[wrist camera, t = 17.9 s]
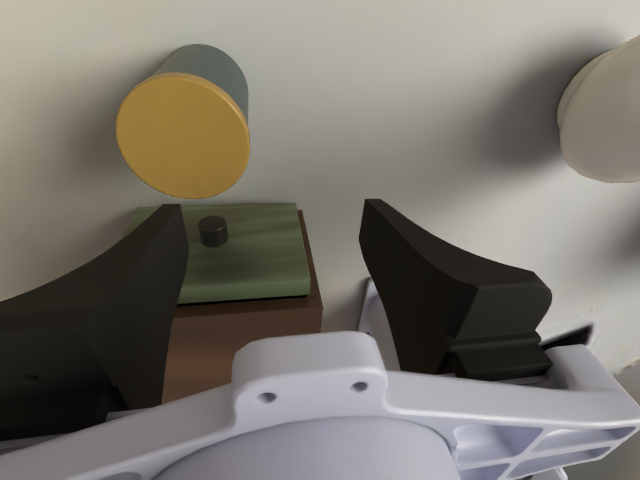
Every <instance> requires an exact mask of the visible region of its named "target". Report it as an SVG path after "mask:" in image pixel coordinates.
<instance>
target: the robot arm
mask: <svg viewBox="0 0 640 480" xmlns="http://www.w3.org/2000/svg"><path fill="white" fill-rule="evenodd" d="M359 243H360V247H361V251H362V255H363V258H364V261H365V263H366V266H367V268H368V271H369V273H370V275H371V278H372V279H370V280H369V281H368V283H367V288H366V293H365V298H364V303H363V308H362V313H361V318H360V322H359V327H358V332H357V331H336V332H325V333H313V334H302V335H291V336H280V337H268V338H264V339H260V340H256V341H252V342H250V343H248V344H247V345H245V346H244V347H243V348H241V349H240V350H239V351H237V352H236V353H235V356H234V360H233V363H232V376H231V383H229V384H226V385H223V386H220V387H216V388H213V389H210V390H207V391H204V392H200V393H197V394H194V395H191V396H188V397H184V398H181V399H178V400H175V401H172V402H169V403H165V404H162V395H163V386H164V376H165V368H166V361H167V353H168V346H169V339H170V333H171V326H172V322H173V317H174V313H175V310H176V306H177V302H178V299H179V295H180V292H181V288H182V285H183V281H184V277H185V273H186V270H187V263H188V254H189V244H188V239H187V234H186V229H185V225H184V220H183V215H182V210H181V206H180V204H163V205H162V206H161V207H159V208H158V209H157V210H156V211H155V212H154V213H153V214H151V215H150V216H149V217H148V218H147V219H146V220H145V221H144V222H142V223H141V224H140V225H139V226H138V227H137V228H135V229H134V230H133V231H132V232H131V233H129V234H128V235H127V236H126V237H124V238H123V239H122V240H120V241H119V242H118V243H117V244H115V245H114V246H113V247H111V248H110V249H108V250H107V251H105V252H104V253H102V254H101V255H99V256H98V257H96V258H95V259H93V260H91V261H90V262H88V263H86V264H85V265H83V266H81V267H79V268H77V269H75V270H73V271H71V272H70V273H68V274H66V275H64V276H62V277H60V278H58V279H56V280H54V281H51V282H49V283H47V284H45V285H43V286H40V287H38V288H36V289H33V290H31V291H29V292H26V293H23V294H21V295H18V296H16V297H13V298H10V299H7V300H4V301H2V302H0V480H514V479H518V478H521V477H525V476H526V477H525V478H523V479H522V480H567V479H568V477H567V475H566V473H565V472H564V470H563V469H562V467H565V466H569V465H573V464H578V463H583V462H589V461H594V460H600V459H602V458H603V457H604V456H606V455H607V454H608V453H610V452H611V451H612V450H613V449H615V448H616V447H617V446H619V445H620V444H621V443H622V442H624V441H625V440H627V439H628V438H629V437H630V436H632V435H633V434H634V433H636V432H637V431H638V430H639V429H640V406H639V405H638V404H637V403H636V402H635V401H634V400H633V399H632V397H631V396H630V395H629V394H628V393H627V392H626V391H625V390H624V389H623V387H622V386H621V385H620V384H619V383H618V382H617V381H616V380H615V379H614V377H613V376H612V375H611V374H610V373H609V372H608V371H607V370H606V369H605V367H604V366H603V365H602V364H601V363H600V362H599V361H598V360H597V359H596V357H595V356H594V355H593V354H592V353H591V352H590V351H589V350H588V349H587V347H586V346H585V345H581V344H579V345H570V346H561V347H554V348H550V349H549V350H547V351H545V352H544V351H543V350H542V348H541V347H540V346H539V345H538V343H540V342H541V337H540V336H539V334H538V333H537V332H536V331H535V329H536V328H537V326H538V325H539V323H540V322H541V320H542V319H543V317H544V316H545V314H546V313H547V311H548V309H549V307H550V305H551V302H552V293H551V290H550V289H549V288H548V287H547V286H546V285H545V284H544V282H543V281H542V280H541V279H540V278H539V277H538V276H537V275H536V274H535V273H534V272H533V271H529V270H525V269H521V268H517V267H513V266H509V265H505V264H501V263H498V262H495V261H492V260H489V259H486V258H483V257H480V256H478V255H475V254H472V253H470V252H468V251H465V250H463V249H460V248H458V247H456V246H454V245H452V244H450V243H448V242H446V241H444V240H442V239H440V238H438V237H436V236H434V235H433V234H431V233H429V232H428V231H426V230H424V229H423V228H421V227H420V226H418V225H417V224H415V223H414V222H412V221H411V220H409V219H408V218H406V217H405V216H404V215H402V214H401V213H399V212H398V211H397V210H395V209H394V208H393V207H391V206H390V205H388V204H387V203H386V202H384V201H383V200H381V199H365V203H364V209H363V215H362V221H361V228H360V234H359ZM371 336H373V337H374V338H372V337H371Z"/></svg>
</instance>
